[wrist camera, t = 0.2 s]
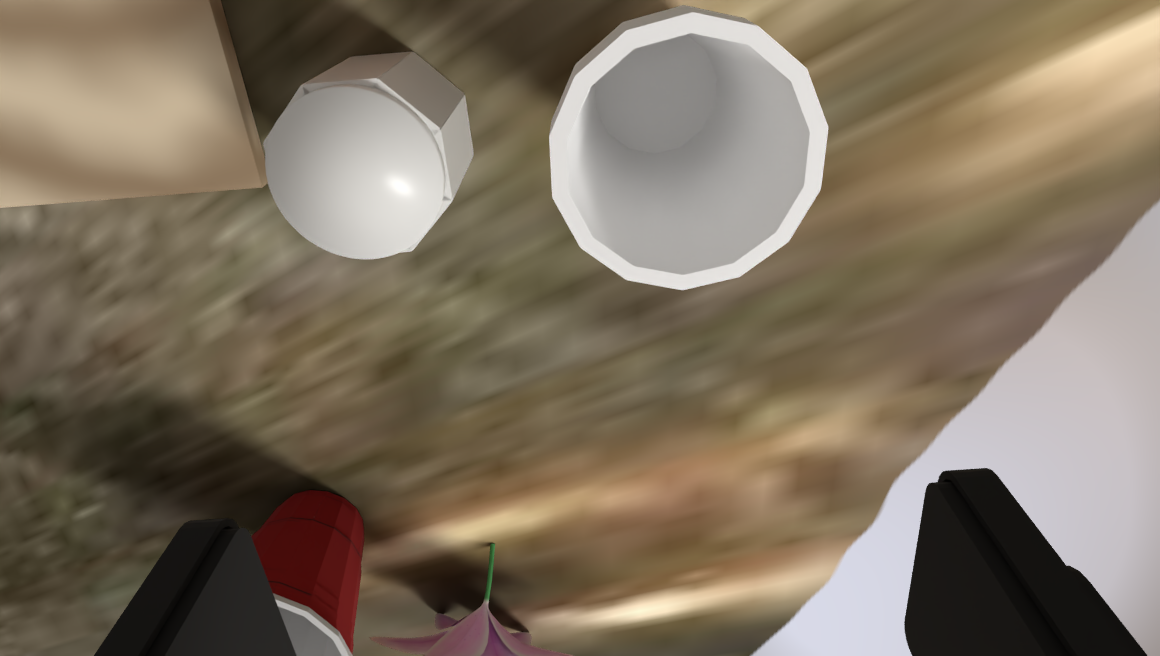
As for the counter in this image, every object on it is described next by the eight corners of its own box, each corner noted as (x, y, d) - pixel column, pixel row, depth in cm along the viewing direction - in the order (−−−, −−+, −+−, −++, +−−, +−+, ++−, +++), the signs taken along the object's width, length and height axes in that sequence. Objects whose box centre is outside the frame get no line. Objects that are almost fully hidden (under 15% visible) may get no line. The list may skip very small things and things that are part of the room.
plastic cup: (383, 448, 47) (326, 599, 37) (416, 573, 52) (375, 737, 42) (215, 461, 48) (110, 613, 37) (264, 583, 53) (185, 748, 42)
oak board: (-224, -211, 31) (-252, -216, 30) (151, -249, 31) (136, -256, 30) (-27, 203, 40) (-44, 211, 39) (270, 180, 39) (262, 187, 38)
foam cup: (543, 162, 39) (527, 262, 27) (577, -34, 34) (575, -13, 23) (721, 196, 40) (778, 307, 28) (776, 9, 35) (870, 50, 24)
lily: (369, 552, 53) (346, 704, 48) (455, 509, 45) (439, 686, 40) (511, 579, 59) (504, 716, 54) (608, 546, 51) (611, 702, 46)
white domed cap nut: (306, 60, 36) (240, 92, 29) (457, 47, 36) (428, 77, 29) (341, 206, 40) (289, 267, 33) (479, 196, 40) (457, 254, 32)
